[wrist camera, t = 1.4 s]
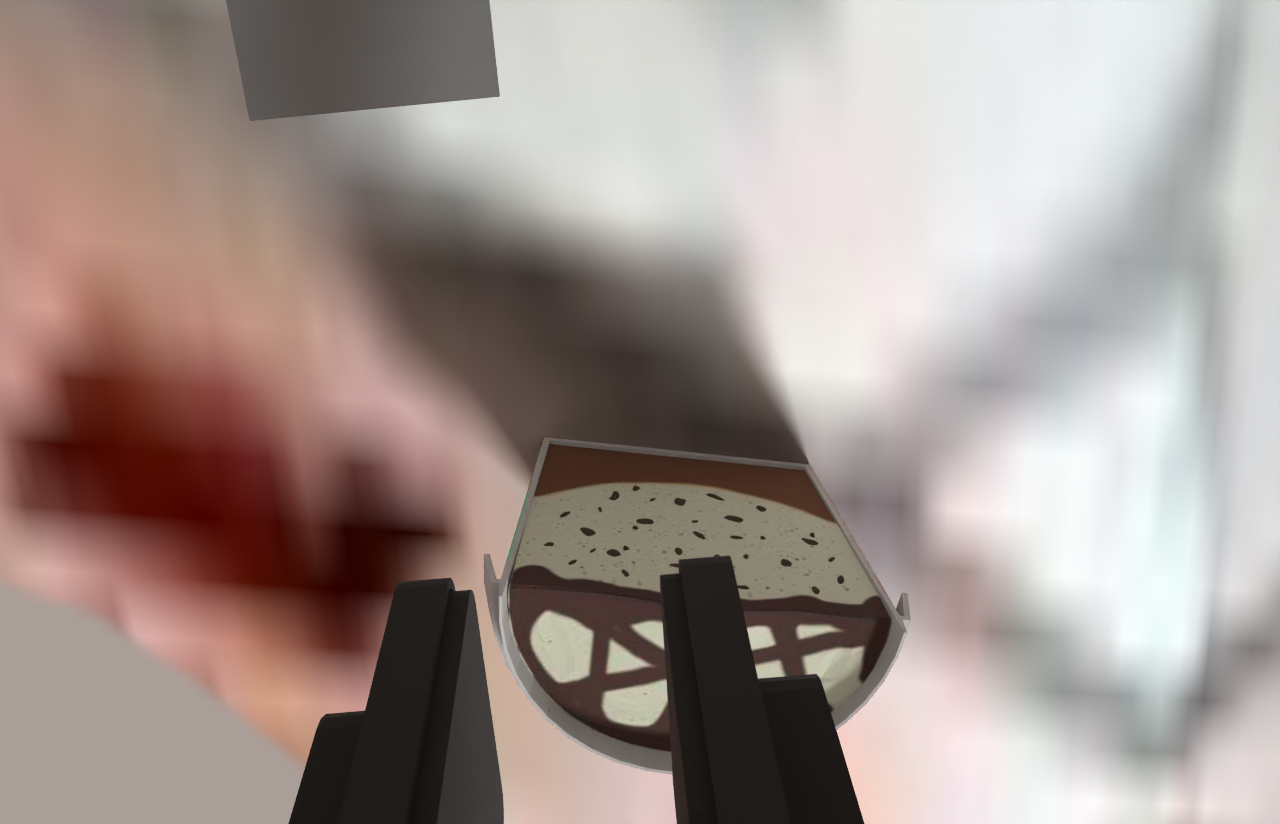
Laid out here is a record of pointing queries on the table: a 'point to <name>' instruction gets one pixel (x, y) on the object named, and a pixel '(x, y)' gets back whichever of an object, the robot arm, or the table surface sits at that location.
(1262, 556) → the table surface
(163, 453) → the table surface
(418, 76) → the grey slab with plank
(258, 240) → the table surface
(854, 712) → the food container
